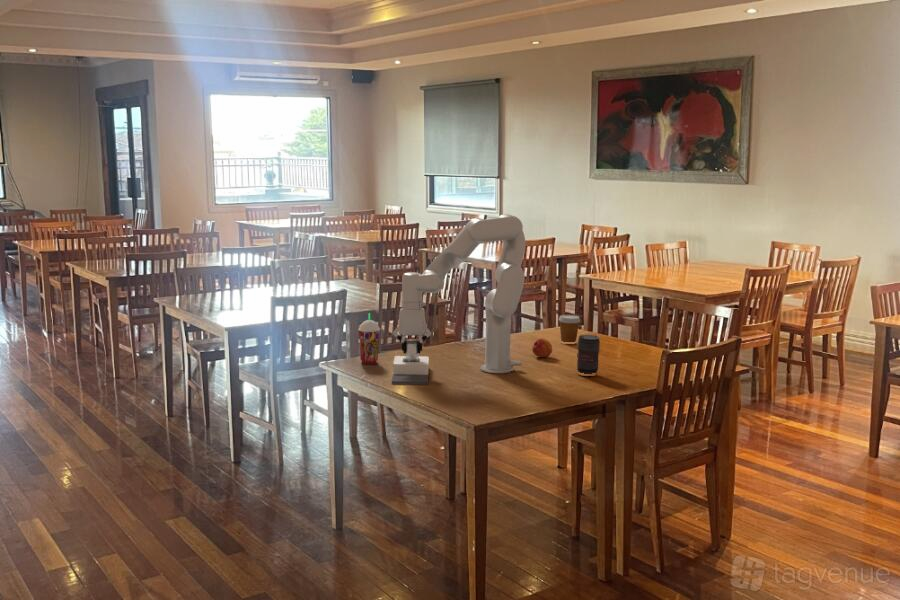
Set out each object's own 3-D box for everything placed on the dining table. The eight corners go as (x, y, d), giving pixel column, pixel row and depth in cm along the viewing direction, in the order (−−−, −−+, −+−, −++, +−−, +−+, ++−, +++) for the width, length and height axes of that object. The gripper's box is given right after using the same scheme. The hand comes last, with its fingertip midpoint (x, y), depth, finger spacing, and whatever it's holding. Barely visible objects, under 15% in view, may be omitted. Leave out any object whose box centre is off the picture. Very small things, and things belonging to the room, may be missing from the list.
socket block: (428, 367, 340) (428, 356, 339) (428, 376, 327) (428, 364, 326) (394, 367, 340) (395, 356, 339) (393, 375, 327) (393, 364, 326)
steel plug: (418, 364, 335) (418, 339, 334) (418, 367, 330) (418, 342, 329) (405, 364, 335) (405, 339, 334) (405, 367, 330) (405, 341, 329)
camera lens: (580, 378, 329) (582, 339, 326) (573, 372, 337) (575, 334, 334) (600, 377, 330) (602, 338, 327) (594, 372, 338) (595, 334, 335)
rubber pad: (428, 377, 325) (428, 374, 325) (427, 384, 316) (427, 381, 315) (393, 376, 325) (393, 374, 325) (391, 383, 315) (391, 381, 315)
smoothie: (376, 366, 341) (376, 315, 338) (355, 364, 343) (355, 314, 339) (382, 361, 349) (382, 311, 346) (362, 359, 351) (362, 310, 347)
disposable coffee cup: (573, 346, 382) (574, 319, 380) (554, 343, 387) (555, 317, 385) (582, 342, 390) (584, 316, 388) (563, 340, 395) (564, 313, 393)
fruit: (532, 354, 365) (533, 336, 364) (552, 355, 364) (553, 337, 363) (531, 359, 357) (532, 340, 356) (551, 360, 356) (552, 341, 355)
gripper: (434, 303, 333) (434, 350, 336) (389, 303, 333) (389, 350, 336) (434, 307, 325) (434, 355, 328) (388, 307, 325) (388, 354, 328)
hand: (411, 352), depth 332 cm, fingers closed on steel plug, 5 cm apart
